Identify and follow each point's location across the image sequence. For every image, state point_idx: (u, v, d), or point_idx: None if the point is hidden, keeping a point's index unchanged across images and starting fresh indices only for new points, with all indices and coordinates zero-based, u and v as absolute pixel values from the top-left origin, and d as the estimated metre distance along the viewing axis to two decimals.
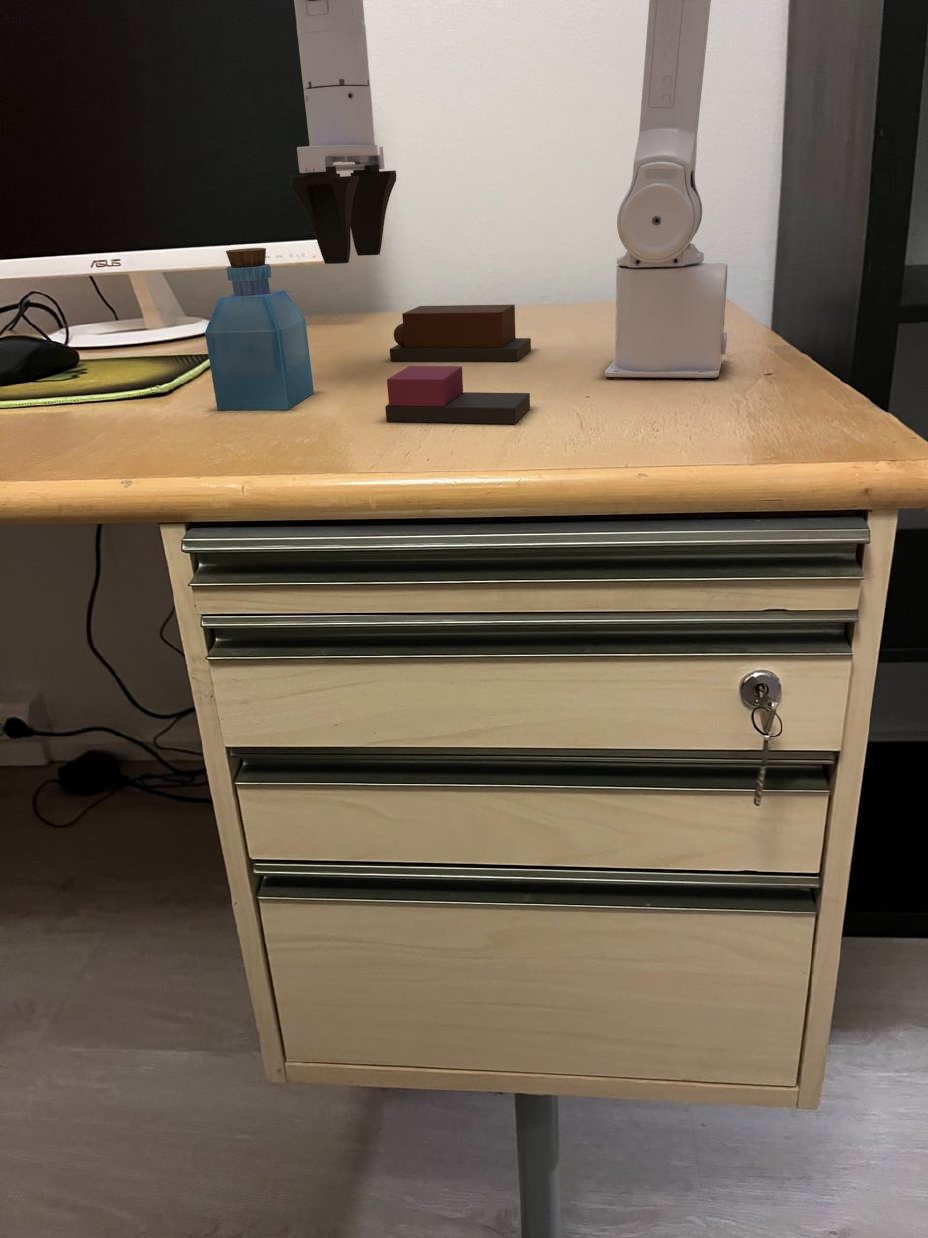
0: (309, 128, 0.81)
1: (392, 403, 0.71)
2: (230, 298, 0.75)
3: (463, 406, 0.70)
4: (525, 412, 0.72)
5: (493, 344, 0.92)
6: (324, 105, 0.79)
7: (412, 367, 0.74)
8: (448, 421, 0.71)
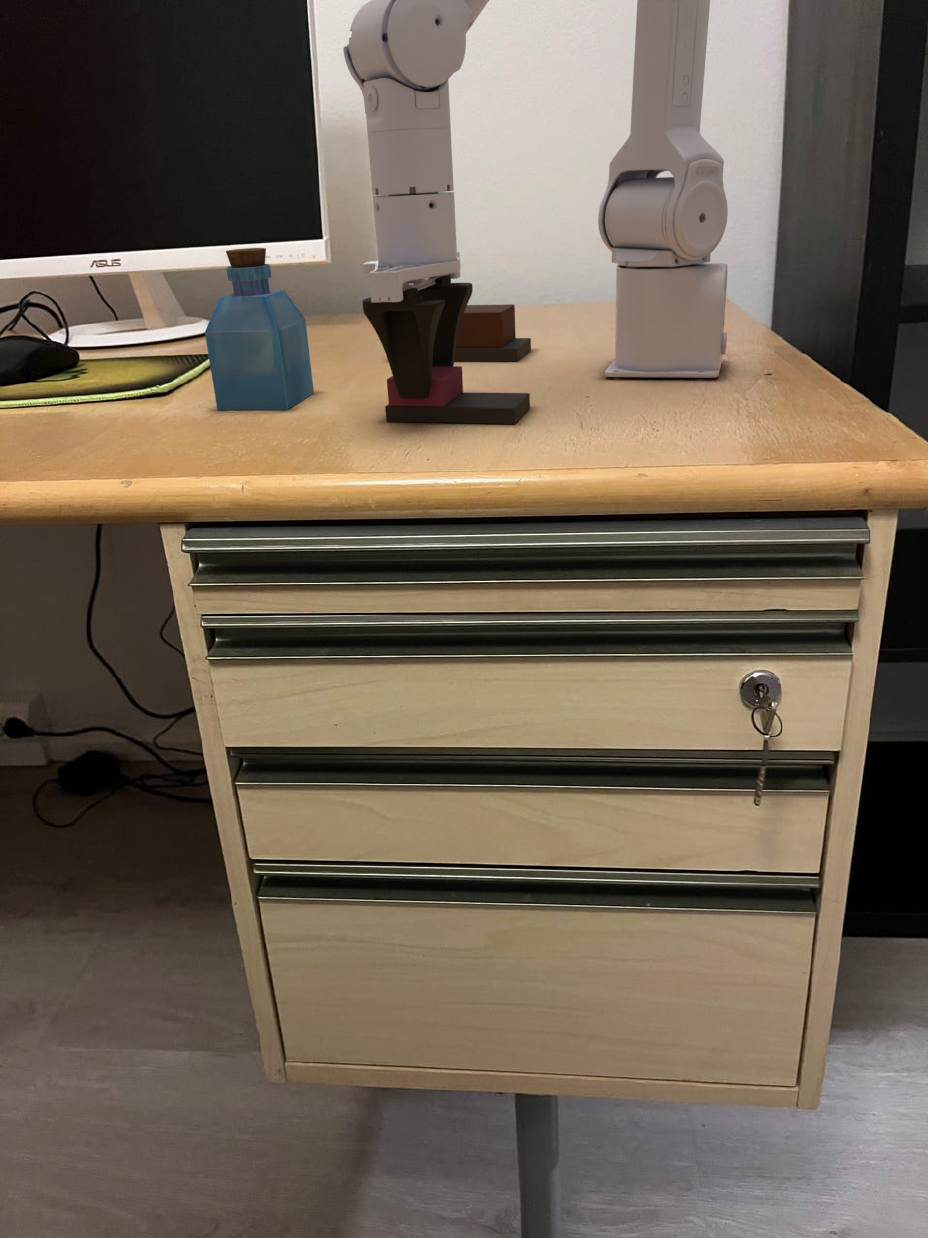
0: (379, 241, 0.67)
1: (392, 403, 0.71)
2: (230, 298, 0.75)
3: (463, 406, 0.70)
4: (525, 412, 0.72)
5: (493, 344, 0.92)
6: (399, 217, 0.65)
7: None
8: (448, 421, 0.70)
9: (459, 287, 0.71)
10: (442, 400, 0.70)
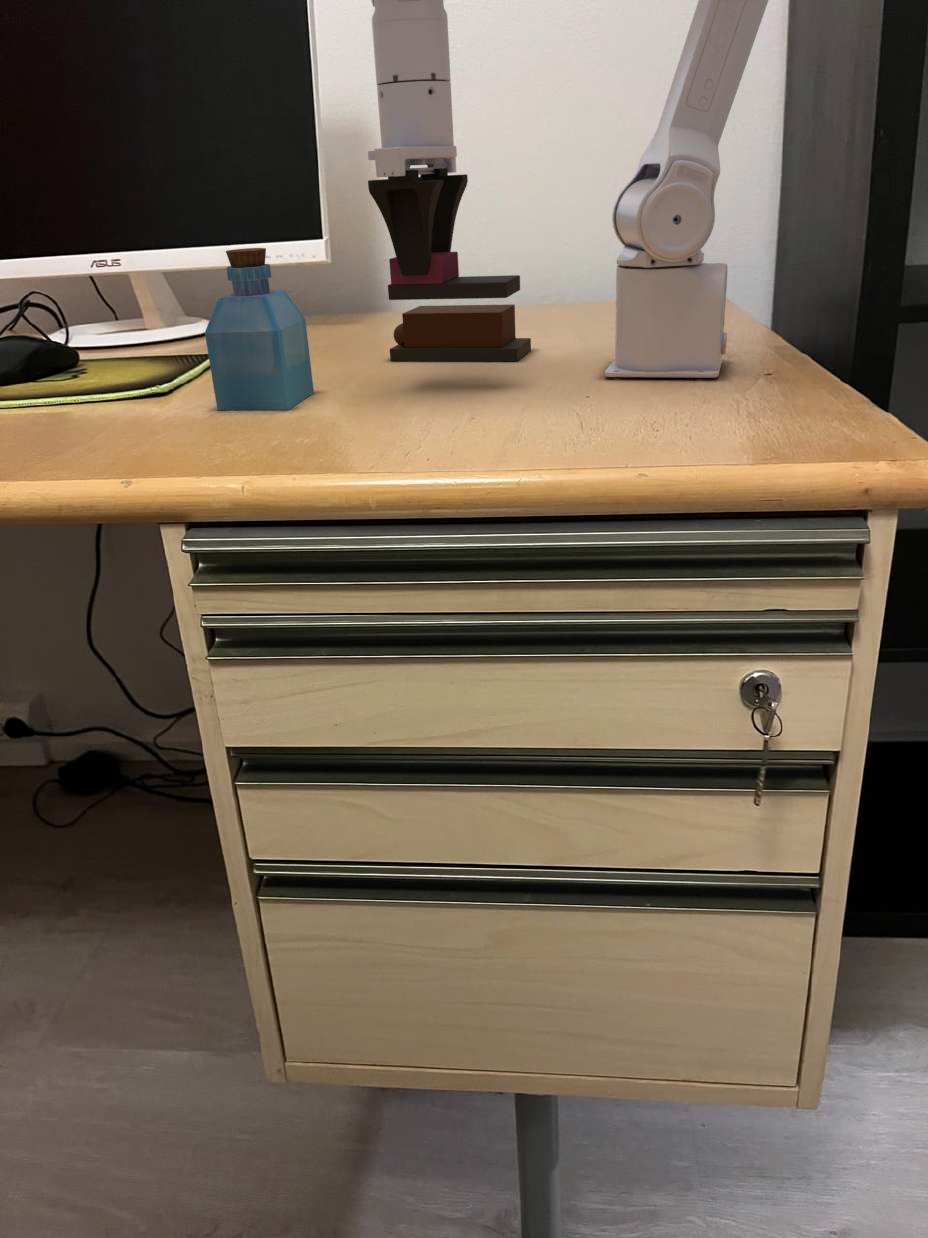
0: (383, 127, 0.74)
1: (394, 282, 0.78)
2: (230, 298, 0.75)
3: (459, 283, 0.77)
4: (516, 291, 0.79)
5: (493, 344, 0.92)
6: (401, 102, 0.72)
7: None
8: (445, 297, 0.77)
9: (455, 176, 0.78)
10: (440, 277, 0.77)
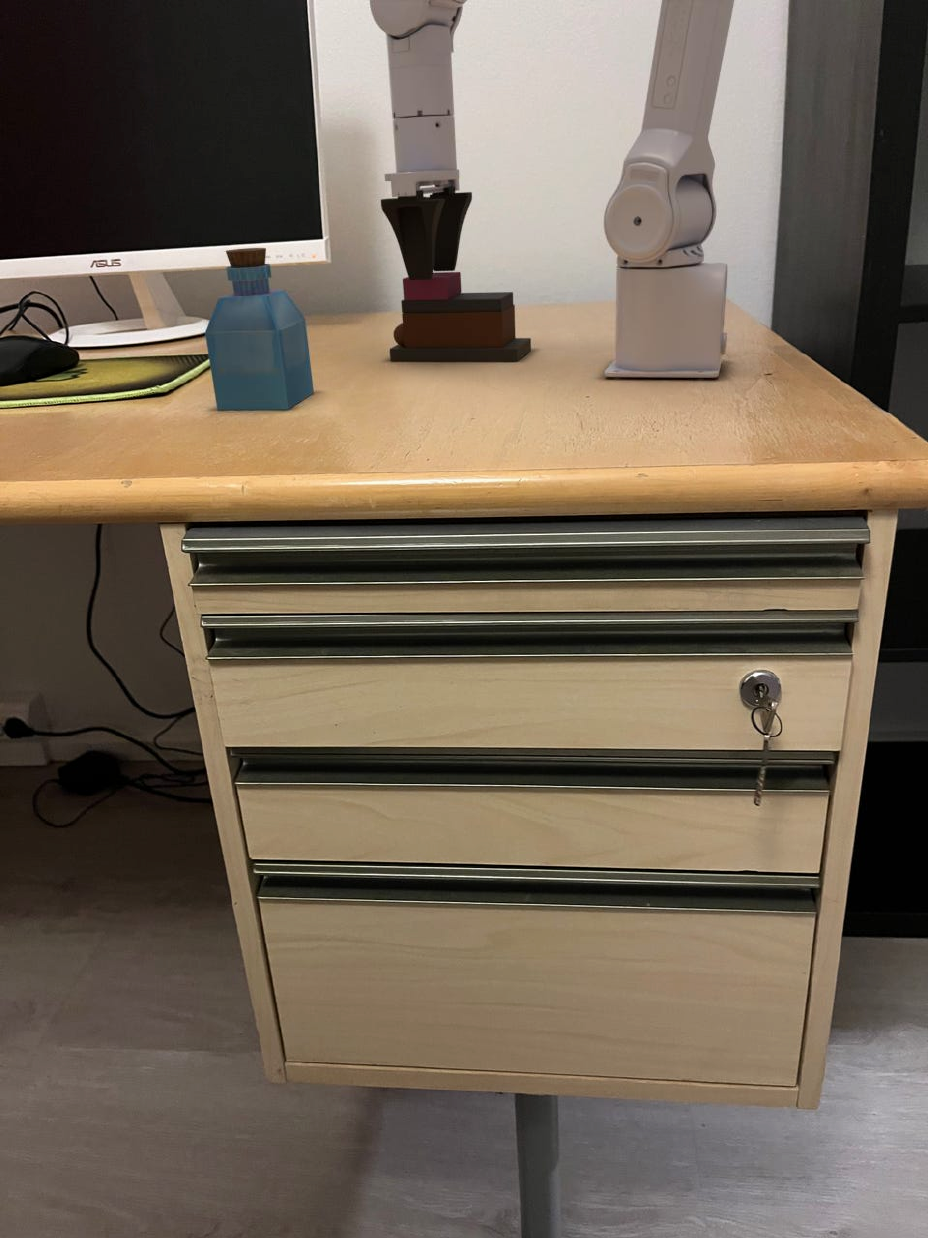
0: (397, 154, 0.87)
1: (406, 298, 0.92)
2: (230, 298, 0.75)
3: (461, 299, 0.91)
4: (509, 306, 0.93)
5: (493, 344, 0.92)
6: (413, 134, 0.85)
7: None
8: (450, 311, 0.92)
9: (462, 193, 0.93)
10: (445, 294, 0.91)
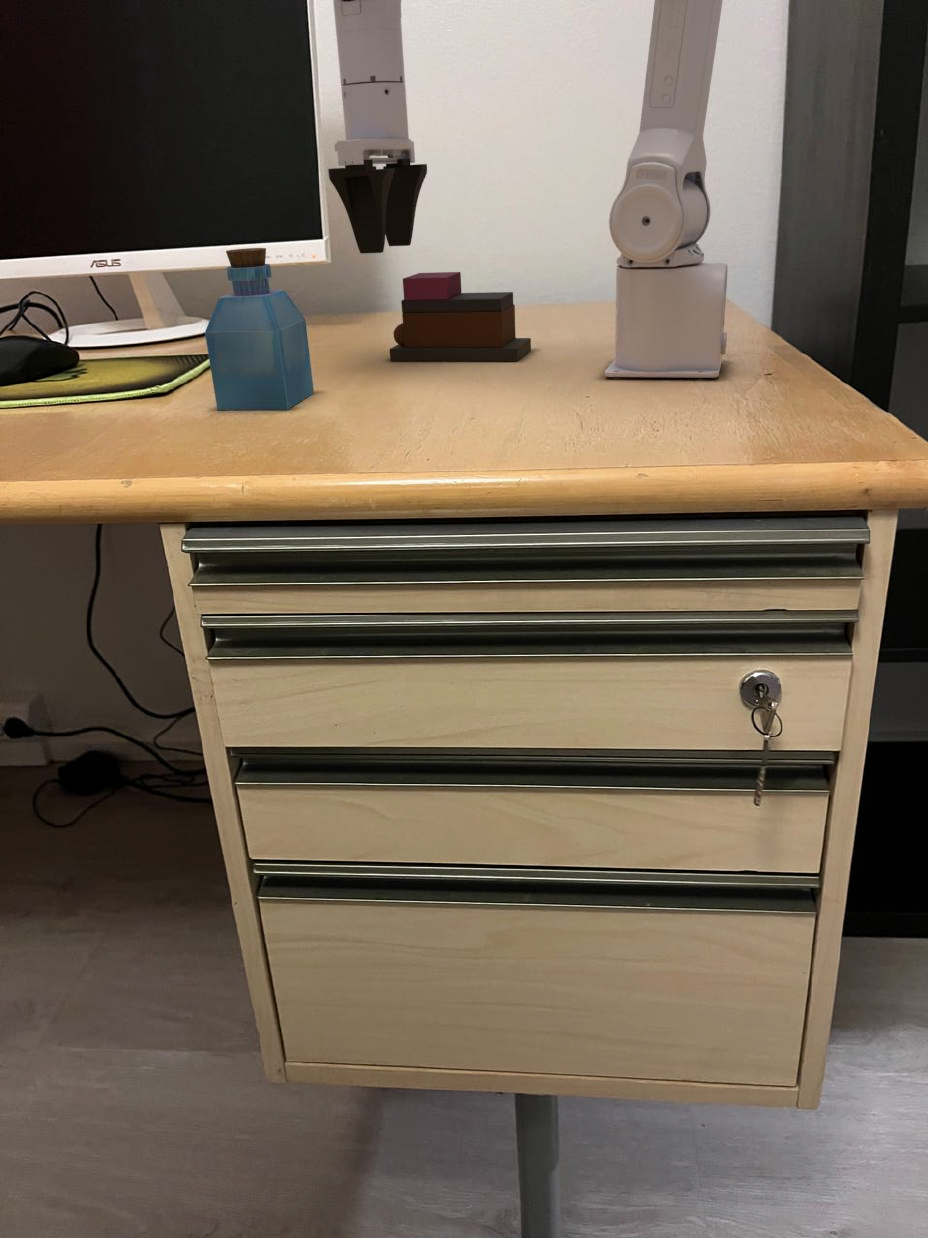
0: (346, 122, 0.85)
1: (406, 298, 0.92)
2: (230, 298, 0.75)
3: (461, 298, 0.91)
4: (509, 306, 0.93)
5: (493, 344, 0.92)
6: (361, 101, 0.83)
7: (422, 273, 0.95)
8: (450, 311, 0.92)
9: (415, 165, 0.90)
10: (445, 294, 0.91)
